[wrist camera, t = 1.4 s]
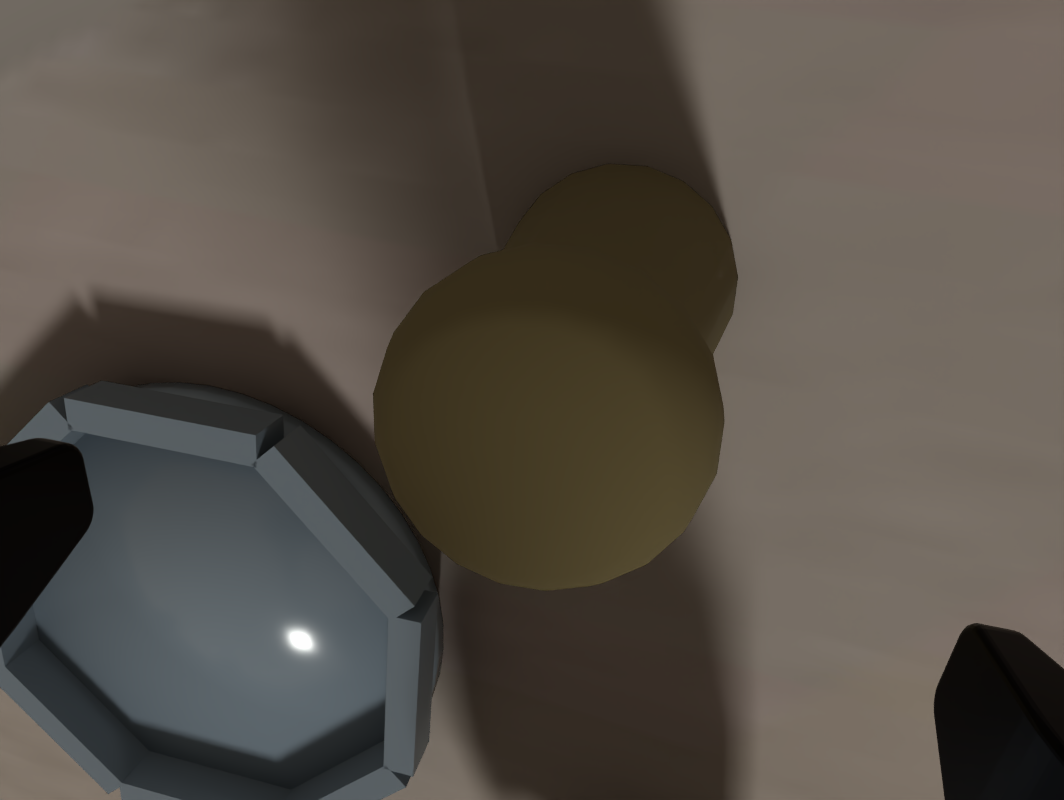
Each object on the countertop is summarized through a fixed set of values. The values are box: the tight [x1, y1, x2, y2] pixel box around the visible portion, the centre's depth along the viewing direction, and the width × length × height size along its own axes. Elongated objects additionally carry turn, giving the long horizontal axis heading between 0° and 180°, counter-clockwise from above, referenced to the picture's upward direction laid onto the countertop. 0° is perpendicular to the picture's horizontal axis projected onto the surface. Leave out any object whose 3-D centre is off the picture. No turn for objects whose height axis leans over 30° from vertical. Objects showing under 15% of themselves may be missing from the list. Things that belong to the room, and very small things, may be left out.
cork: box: [373, 164, 738, 591], centre depth 15 cm, size 6×6×11 cm
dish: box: [0, 381, 443, 800], centre depth 26 cm, size 16×16×2 cm
